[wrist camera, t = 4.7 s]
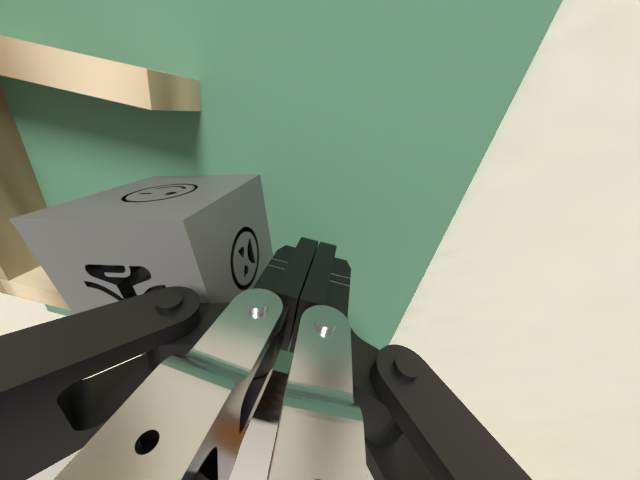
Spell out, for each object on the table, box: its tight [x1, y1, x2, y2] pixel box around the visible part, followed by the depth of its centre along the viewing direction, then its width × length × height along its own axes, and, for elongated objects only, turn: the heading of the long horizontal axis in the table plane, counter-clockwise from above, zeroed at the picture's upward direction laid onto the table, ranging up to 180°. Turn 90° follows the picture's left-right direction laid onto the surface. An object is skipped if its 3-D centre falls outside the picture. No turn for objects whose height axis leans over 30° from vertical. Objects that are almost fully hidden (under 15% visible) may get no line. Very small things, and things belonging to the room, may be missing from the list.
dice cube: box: [10, 174, 273, 355], centre depth 9 cm, size 5×5×5 cm
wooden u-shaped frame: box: [0, 35, 201, 311], centre depth 10 cm, size 10×11×2 cm
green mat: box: [0, 0, 563, 374], centre depth 11 cm, size 22×20×1 cm
